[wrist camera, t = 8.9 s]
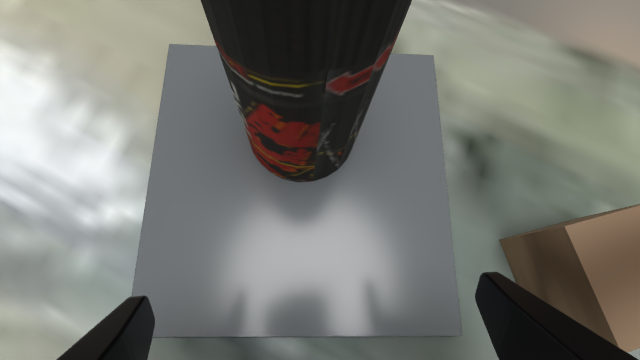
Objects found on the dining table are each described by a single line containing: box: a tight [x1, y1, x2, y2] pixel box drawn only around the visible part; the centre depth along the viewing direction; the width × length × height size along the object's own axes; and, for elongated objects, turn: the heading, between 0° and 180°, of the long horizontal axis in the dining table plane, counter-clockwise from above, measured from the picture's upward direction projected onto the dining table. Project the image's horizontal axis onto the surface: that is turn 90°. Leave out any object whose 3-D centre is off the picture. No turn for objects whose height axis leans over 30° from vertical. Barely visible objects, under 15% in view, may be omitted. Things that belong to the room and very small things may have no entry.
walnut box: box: [499, 204, 640, 352], centre depth 17 cm, size 5×5×5 cm
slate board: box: [132, 44, 462, 337], centre depth 19 cm, size 16×16×1 cm
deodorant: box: [201, 0, 412, 182], centre depth 12 cm, size 6×6×15 cm
